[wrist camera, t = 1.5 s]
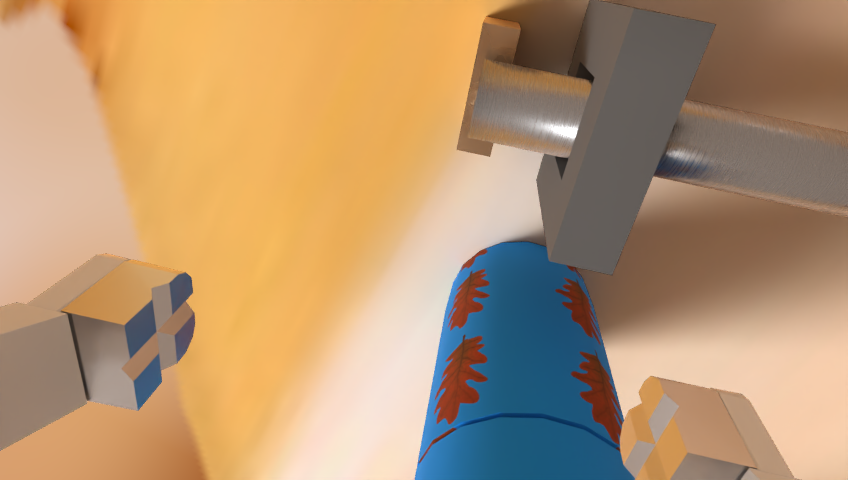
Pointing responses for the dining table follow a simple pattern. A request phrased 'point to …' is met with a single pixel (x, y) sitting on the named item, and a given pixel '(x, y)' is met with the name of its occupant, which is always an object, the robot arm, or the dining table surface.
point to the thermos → (521, 377)
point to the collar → (617, 128)
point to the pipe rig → (688, 142)
